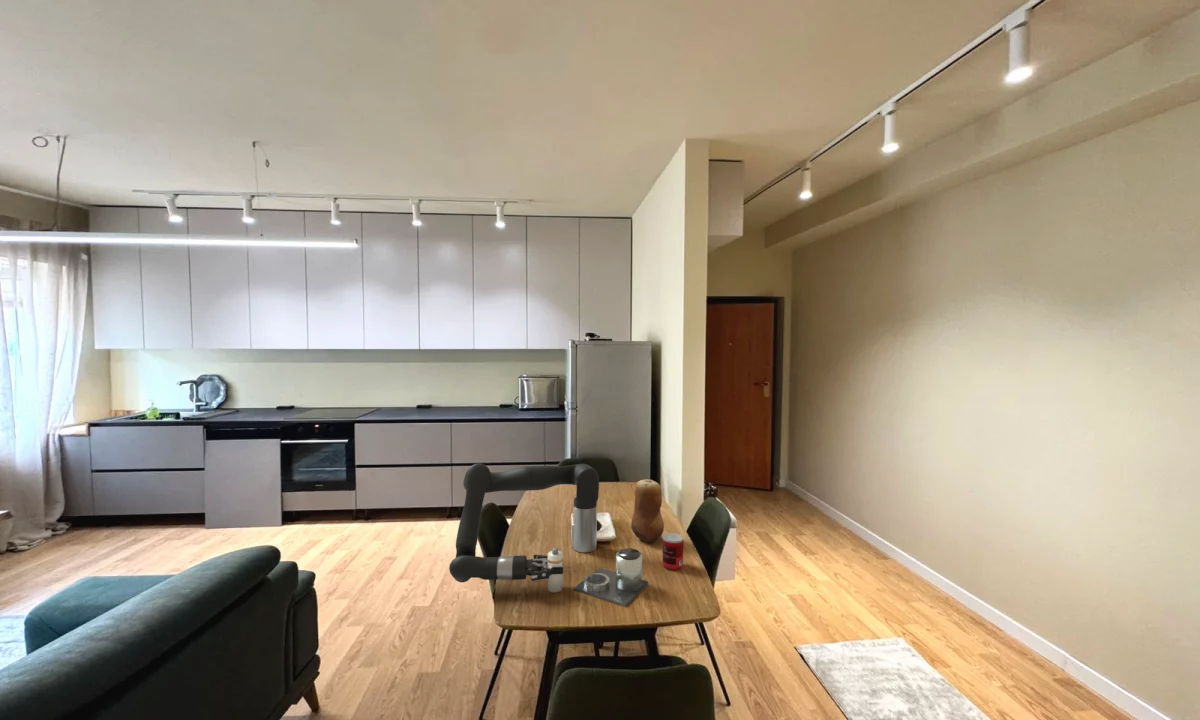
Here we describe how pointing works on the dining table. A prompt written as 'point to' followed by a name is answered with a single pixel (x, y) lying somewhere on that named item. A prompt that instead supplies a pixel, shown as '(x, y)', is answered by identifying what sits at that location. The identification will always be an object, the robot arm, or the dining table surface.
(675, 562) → the canned food
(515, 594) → the dining table surface
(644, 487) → the butternut squash
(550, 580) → the bottle
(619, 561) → the grey tray with jar
